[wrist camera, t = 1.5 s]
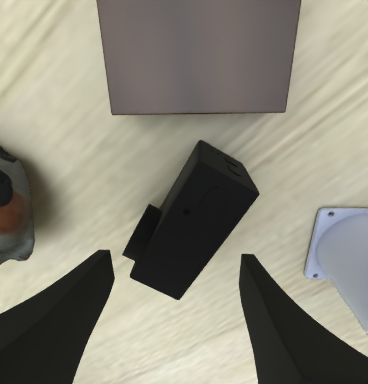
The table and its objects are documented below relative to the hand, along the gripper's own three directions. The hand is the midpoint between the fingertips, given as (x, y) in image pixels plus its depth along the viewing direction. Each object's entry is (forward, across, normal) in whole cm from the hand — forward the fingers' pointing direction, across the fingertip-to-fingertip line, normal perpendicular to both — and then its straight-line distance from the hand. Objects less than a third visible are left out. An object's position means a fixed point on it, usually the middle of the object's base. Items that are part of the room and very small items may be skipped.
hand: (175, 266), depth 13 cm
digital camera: (+10, 0, 0) cm, 10 cm away
